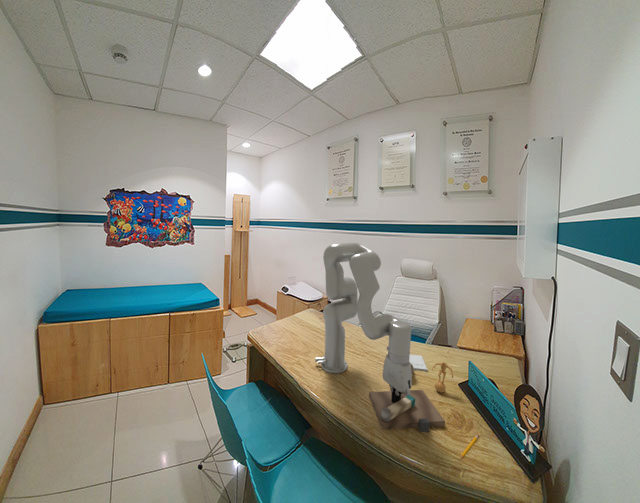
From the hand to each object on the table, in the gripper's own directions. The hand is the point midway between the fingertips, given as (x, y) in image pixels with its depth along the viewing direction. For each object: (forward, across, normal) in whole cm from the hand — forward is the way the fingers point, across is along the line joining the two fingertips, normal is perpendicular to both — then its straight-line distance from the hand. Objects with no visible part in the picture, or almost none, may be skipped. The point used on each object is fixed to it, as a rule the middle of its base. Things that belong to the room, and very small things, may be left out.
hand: (395, 401), depth 93 cm
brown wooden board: (+3, +2, +2) cm, 4 cm away
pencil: (+3, +23, +7) cm, 24 cm away
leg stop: (+3, +12, 0) cm, 12 cm away
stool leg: (0, +3, -3) cm, 4 cm away
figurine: (+3, +3, +24) cm, 25 cm away
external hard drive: (+4, -16, +33) cm, 37 cm away
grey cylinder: (+3, -13, +20) cm, 24 cm away
